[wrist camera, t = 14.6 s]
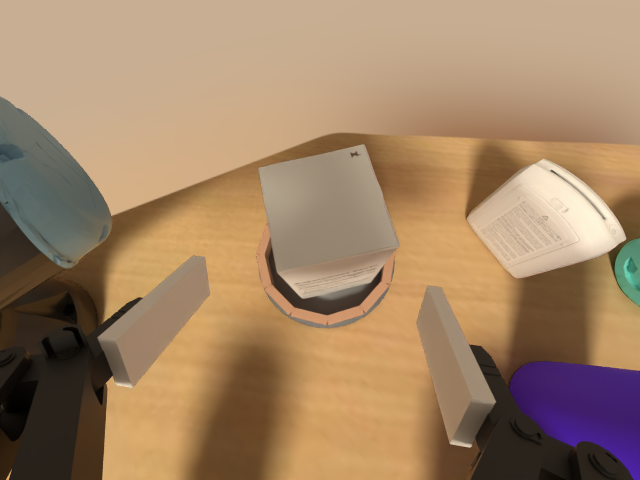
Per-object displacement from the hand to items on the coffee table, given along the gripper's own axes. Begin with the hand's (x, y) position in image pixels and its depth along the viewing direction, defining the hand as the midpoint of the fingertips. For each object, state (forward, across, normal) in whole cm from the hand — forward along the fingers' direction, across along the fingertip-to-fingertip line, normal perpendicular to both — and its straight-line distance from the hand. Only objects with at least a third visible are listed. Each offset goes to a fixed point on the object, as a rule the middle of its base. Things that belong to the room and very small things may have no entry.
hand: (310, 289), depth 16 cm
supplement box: (+16, 0, -7) cm, 18 cm away
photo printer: (+20, +21, -4) cm, 30 cm away
